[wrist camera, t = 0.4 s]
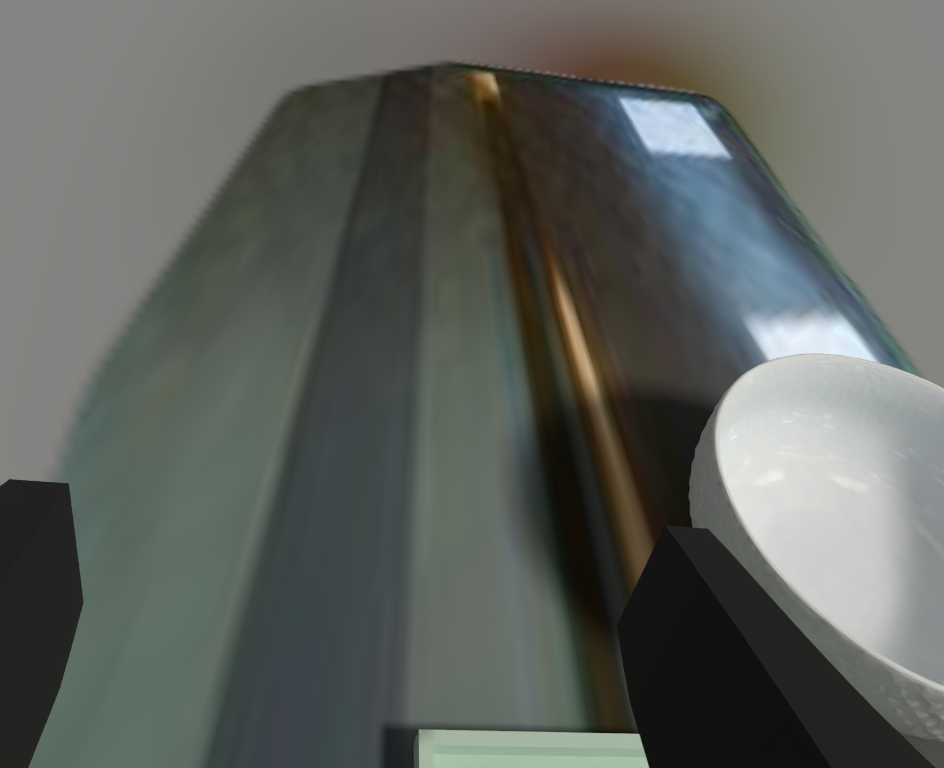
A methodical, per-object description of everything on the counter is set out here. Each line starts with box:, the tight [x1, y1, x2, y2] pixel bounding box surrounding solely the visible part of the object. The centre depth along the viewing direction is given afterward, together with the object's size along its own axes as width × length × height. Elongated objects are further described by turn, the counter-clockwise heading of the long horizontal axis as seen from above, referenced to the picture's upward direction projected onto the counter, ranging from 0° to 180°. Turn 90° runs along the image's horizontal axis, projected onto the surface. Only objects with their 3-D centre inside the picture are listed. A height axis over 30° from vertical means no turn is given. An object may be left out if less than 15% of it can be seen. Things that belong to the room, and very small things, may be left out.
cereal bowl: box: [689, 354, 944, 742], centre depth 33 cm, size 17×17×7 cm
